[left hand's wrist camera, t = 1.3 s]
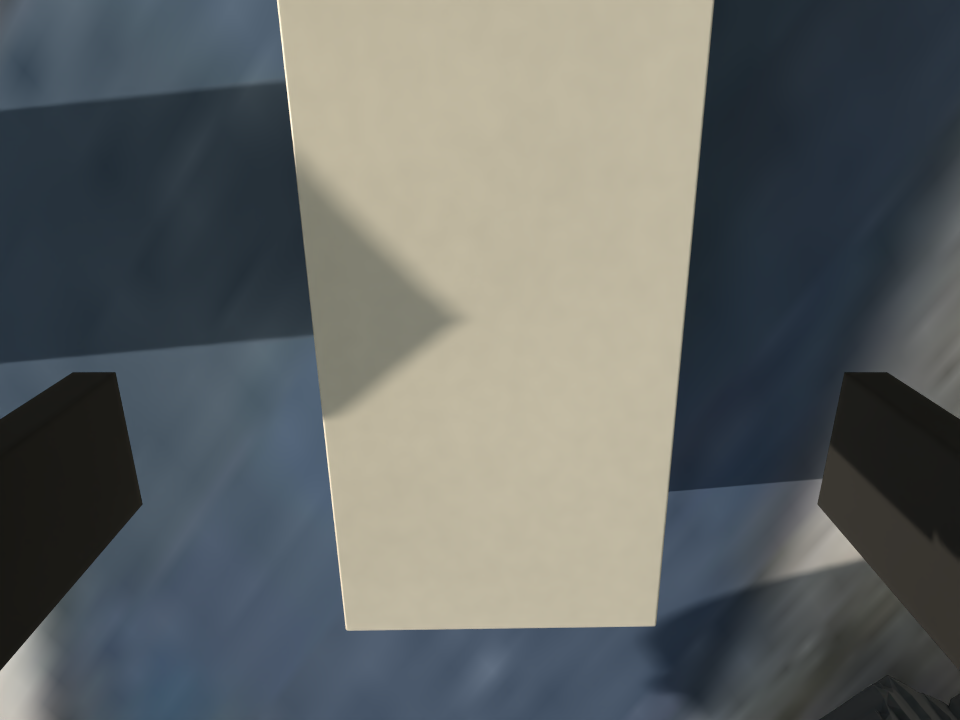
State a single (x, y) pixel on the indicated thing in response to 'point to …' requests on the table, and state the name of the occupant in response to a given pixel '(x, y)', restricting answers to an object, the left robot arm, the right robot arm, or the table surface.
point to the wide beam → (497, 296)
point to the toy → (895, 704)
